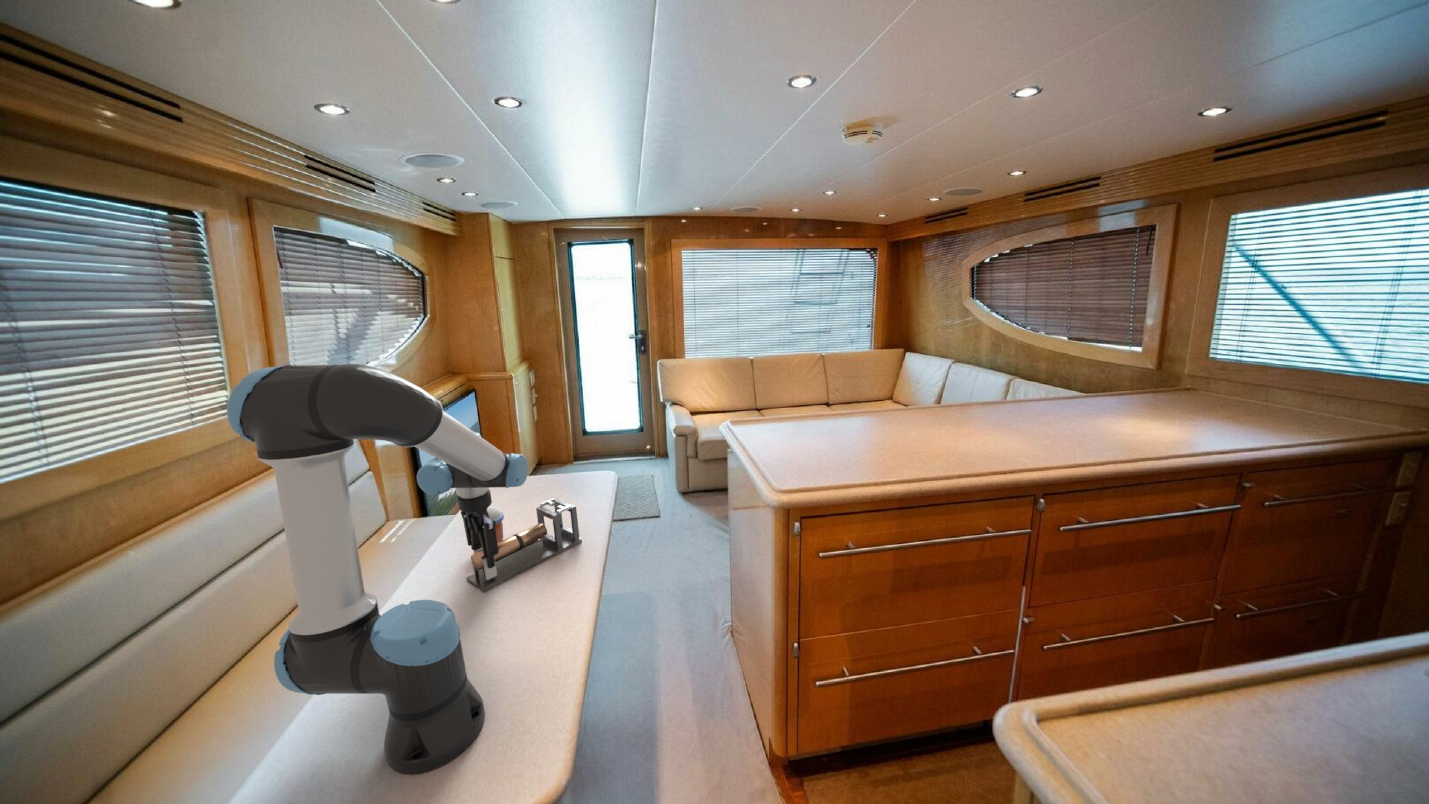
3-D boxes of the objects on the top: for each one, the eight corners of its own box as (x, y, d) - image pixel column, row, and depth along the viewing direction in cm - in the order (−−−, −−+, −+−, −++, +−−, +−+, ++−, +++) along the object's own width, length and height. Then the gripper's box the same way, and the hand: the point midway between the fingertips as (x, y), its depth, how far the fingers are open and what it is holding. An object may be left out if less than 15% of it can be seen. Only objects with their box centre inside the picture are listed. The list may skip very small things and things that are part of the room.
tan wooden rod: (480, 572, 124) (477, 557, 123) (472, 566, 127) (469, 552, 126) (548, 538, 140) (546, 524, 138) (539, 534, 142) (537, 520, 141)
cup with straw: (508, 554, 141) (499, 497, 137) (473, 561, 138) (463, 503, 133) (508, 539, 149) (500, 485, 145) (476, 546, 146) (466, 490, 142)
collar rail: (483, 592, 123) (476, 547, 120) (466, 580, 129) (459, 537, 126) (582, 541, 146) (577, 502, 143) (564, 533, 152) (559, 495, 149)
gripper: (505, 495, 120) (517, 578, 126) (472, 480, 131) (484, 557, 136) (475, 506, 115) (489, 593, 120) (443, 489, 125) (457, 570, 130)
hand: (487, 574), depth 128 cm, fingers closed on tan wooden rod, 4 cm apart
